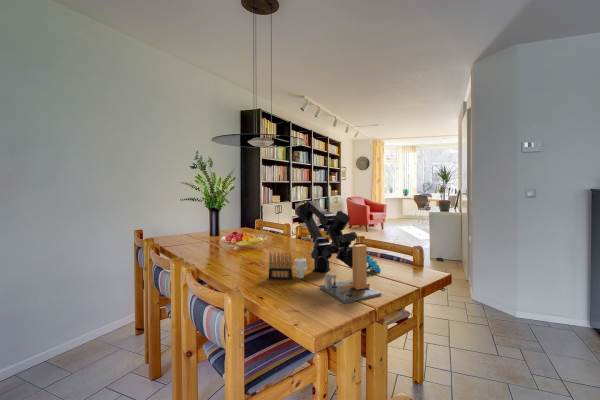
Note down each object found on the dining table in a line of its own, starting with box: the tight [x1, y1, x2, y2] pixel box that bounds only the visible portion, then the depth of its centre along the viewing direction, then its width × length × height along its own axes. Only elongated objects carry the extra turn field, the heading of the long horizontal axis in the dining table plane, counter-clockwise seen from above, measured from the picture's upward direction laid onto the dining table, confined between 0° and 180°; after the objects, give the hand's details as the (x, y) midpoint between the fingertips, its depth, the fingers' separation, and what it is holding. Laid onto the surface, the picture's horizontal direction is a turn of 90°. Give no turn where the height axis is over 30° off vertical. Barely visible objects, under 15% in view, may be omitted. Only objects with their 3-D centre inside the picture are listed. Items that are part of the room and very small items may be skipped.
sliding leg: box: [340, 243, 371, 290], centre depth 113 cm, size 5×12×16 cm, turn 116°
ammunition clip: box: [268, 252, 294, 281], centre depth 129 cm, size 11×2×12 cm, turn 82°
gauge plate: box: [319, 274, 382, 304], centre depth 113 cm, size 18×16×6 cm
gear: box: [367, 254, 382, 273], centre depth 140 cm, size 11×6×10 cm
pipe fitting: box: [292, 257, 309, 279], centre depth 132 cm, size 6×7×8 cm
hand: (352, 267), depth 119 cm, fingers closed
